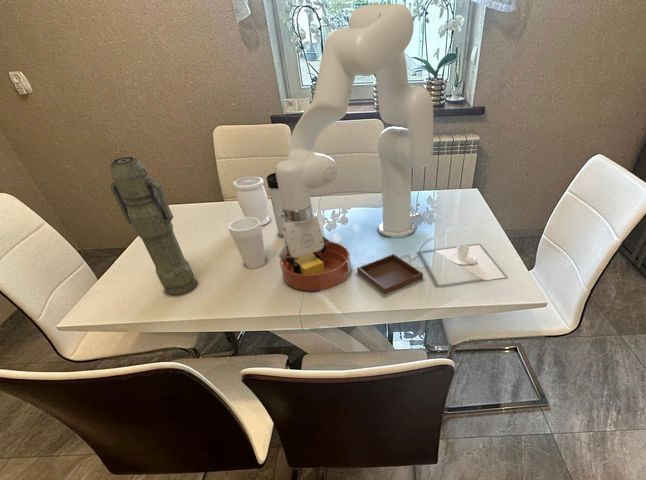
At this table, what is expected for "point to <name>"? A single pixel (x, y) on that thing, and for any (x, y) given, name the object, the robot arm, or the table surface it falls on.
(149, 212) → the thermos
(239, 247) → the foam cup
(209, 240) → the table surface
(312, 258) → the sponge
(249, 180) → the jar
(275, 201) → the travel mug
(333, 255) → the terracotta plant saucer
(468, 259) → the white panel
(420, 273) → the tray
